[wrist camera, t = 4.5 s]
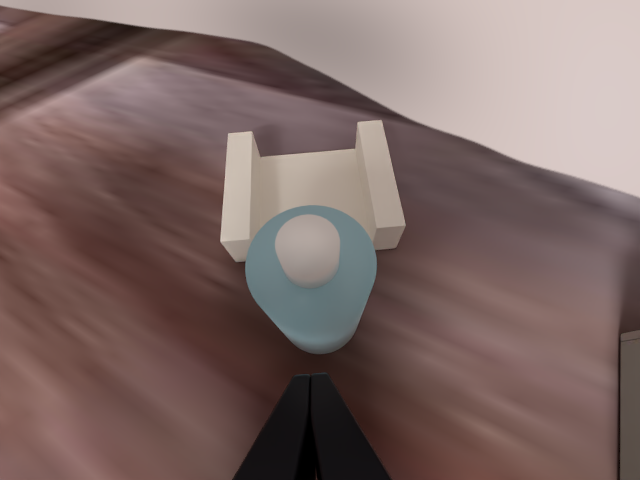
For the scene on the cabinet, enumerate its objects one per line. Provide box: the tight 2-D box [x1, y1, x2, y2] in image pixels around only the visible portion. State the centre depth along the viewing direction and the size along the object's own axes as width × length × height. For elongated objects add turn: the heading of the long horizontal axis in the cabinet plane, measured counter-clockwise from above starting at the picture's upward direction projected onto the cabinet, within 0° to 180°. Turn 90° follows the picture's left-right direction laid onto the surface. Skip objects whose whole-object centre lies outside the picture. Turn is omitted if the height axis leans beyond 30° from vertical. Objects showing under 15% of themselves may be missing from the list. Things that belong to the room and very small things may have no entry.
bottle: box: [245, 205, 377, 354], centre depth 14 cm, size 5×5×10 cm
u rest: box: [220, 120, 406, 262], centre depth 20 cm, size 8×10×3 cm
